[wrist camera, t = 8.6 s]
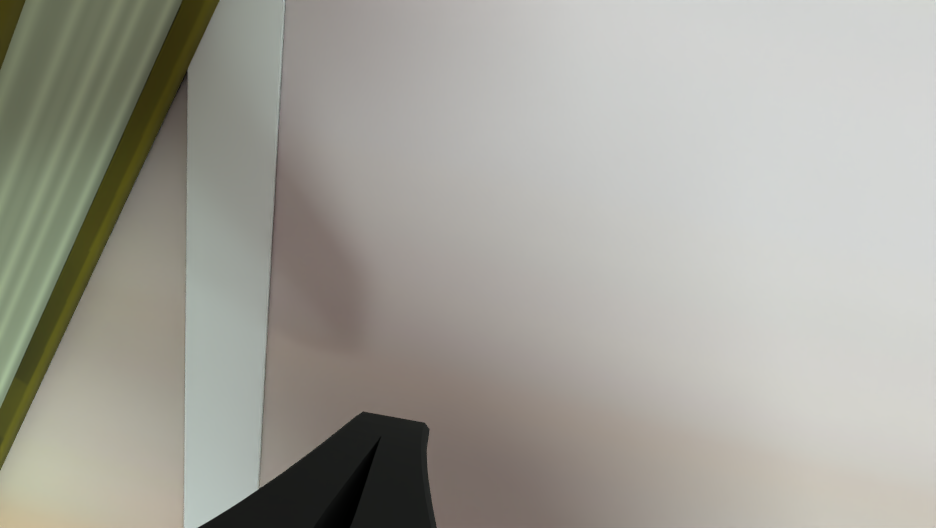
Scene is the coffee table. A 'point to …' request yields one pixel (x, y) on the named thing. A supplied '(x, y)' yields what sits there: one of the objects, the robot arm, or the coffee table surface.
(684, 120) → the coffee table surface
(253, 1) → the strip
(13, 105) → the hardcover book
